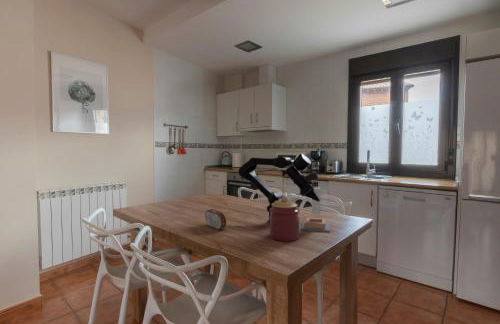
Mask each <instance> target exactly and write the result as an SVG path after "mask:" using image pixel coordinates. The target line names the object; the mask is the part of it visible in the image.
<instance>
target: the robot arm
mask: <svg viewBox="0 0 500 324" xmlns="http://www.w3.org/2000/svg"><path fill="white" fill-rule="evenodd" d="M311 164H312V160H310V159H309V157H308V156H306V155H304V153H300V154H299V155H298V156H297V157H296V158H295V159H292V158H290V157H289V156H279V157H273V158H271V157H270V158H269V157H268V158H267V157H251V158H249V160H248V161H246V162H245V163H244V164H243V165H242V166H241V167H239V168H238V175H239V177H241V178H242V179H243V180H247V181H248V182H250V183H251V184H252V185H253V186H254V187H255V188H256V189H257V190H258V191H260V193H261V194H263V196H265V198H266V199H267V201H268V203H269V205H267V207H266V211H267V212H268V219H267V220H266V222H267V223H269V224H270V216H271V212H270V208H272V203H274V202H275V201H278V200H282V197H284V196H285V195H284V194H282V192H281V191H276V192H275V191H274V190H272V189H271V188H270V187H269V186H268V185H267V184H266V183H265V182H264V181H263V180H262V179H261V178H260V177H258V176H257V174H256V171H255V170H256V169H257V167H258V166H273V167H275V168H277V169H278V168H279V169H283V170H282V173H281V174H282V175H281V176H282V177H285V176H287V177H288V178H289V179H290V180H291V181H292V182H293V184H294V185H296V186H297V187H298V189H299V194H300V195H301V196H302V197H307V198H309V199H311V200H312V199H313V200H315V201H318V202H319V201H320V200H319V198H318V197H317V195H316V194H315V192H314V187H315V184H314V182H313V180H317V179H319V176H318V173H317V171H313V170H310V171H308V174H306V175H305V174H304V173H302V172H303V171H305V170H306V169H307V168H308V167H309V166H310V165H311ZM291 166H292V167H291Z"/></svg>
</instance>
